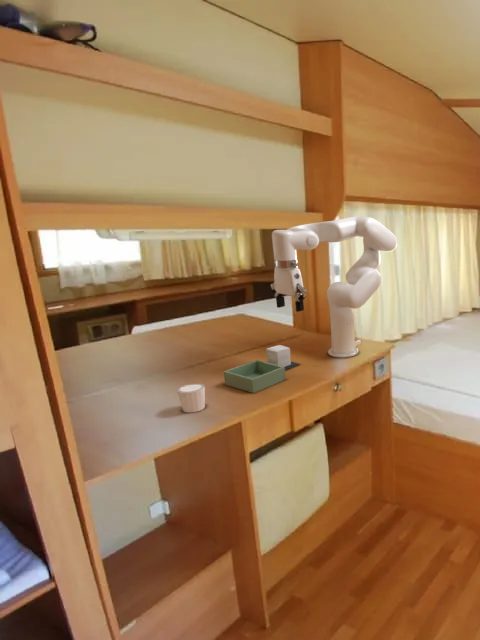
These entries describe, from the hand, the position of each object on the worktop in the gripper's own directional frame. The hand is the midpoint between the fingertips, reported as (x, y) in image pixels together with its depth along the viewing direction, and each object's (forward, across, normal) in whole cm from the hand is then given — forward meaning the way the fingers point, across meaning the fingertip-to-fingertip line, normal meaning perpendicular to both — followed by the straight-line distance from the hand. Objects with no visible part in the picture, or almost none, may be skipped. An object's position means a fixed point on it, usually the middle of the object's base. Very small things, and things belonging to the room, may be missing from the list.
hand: (290, 308), depth 162 cm
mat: (+24, +5, +3) cm, 25 cm away
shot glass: (+23, -2, +41) cm, 47 cm away
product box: (+24, +5, +3) cm, 24 cm away
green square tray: (+24, 0, +18) cm, 30 cm away
